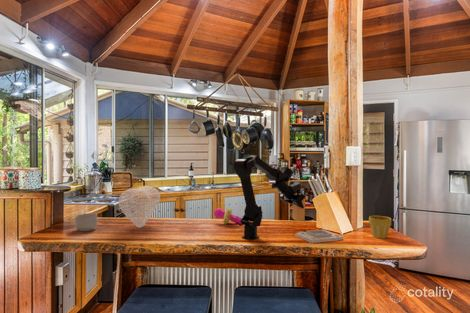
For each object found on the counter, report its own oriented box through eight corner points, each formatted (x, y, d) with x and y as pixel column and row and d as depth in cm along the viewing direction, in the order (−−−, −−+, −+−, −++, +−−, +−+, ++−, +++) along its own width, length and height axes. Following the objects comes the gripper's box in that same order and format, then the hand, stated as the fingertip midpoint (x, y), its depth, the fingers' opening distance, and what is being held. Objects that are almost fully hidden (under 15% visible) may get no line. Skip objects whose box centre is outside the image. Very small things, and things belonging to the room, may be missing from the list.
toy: (238, 228, 175) (245, 211, 179) (209, 217, 179) (216, 201, 182) (239, 231, 185) (245, 215, 188) (211, 221, 188) (218, 205, 192)
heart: (140, 234, 156) (140, 190, 156) (112, 232, 160) (112, 189, 159) (164, 222, 184) (164, 185, 184) (139, 221, 187) (140, 184, 187)
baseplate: (311, 243, 145) (311, 237, 145) (295, 235, 158) (295, 230, 158) (343, 239, 152) (343, 234, 152) (324, 232, 165) (325, 227, 165)
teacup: (96, 231, 162) (96, 216, 162) (73, 233, 158) (73, 217, 158) (97, 225, 175) (97, 211, 175) (76, 227, 171) (76, 212, 171)
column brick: (297, 220, 170) (297, 196, 170) (292, 218, 175) (292, 194, 175) (304, 219, 172) (304, 195, 172) (299, 218, 176) (300, 194, 176)
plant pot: (389, 240, 151) (390, 220, 151) (366, 237, 157) (367, 217, 157) (392, 236, 160) (392, 217, 160) (370, 233, 165) (370, 214, 165)
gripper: (302, 178, 163) (319, 198, 167) (284, 176, 180) (300, 194, 184) (289, 194, 160) (307, 214, 164) (271, 190, 178) (288, 208, 182)
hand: (300, 207), depth 174 cm, fingers closed on column brick, 5 cm apart
